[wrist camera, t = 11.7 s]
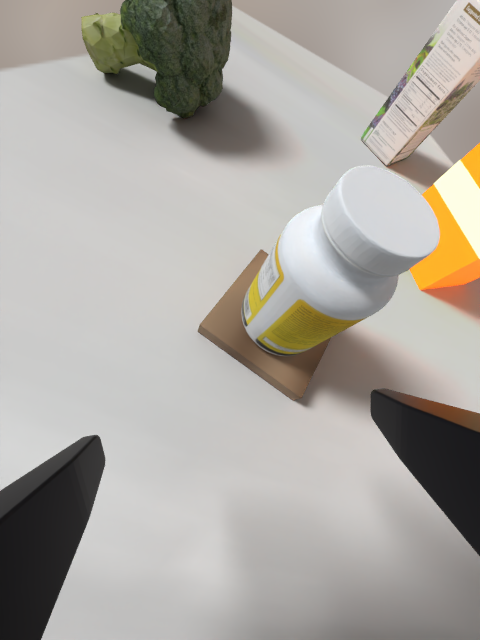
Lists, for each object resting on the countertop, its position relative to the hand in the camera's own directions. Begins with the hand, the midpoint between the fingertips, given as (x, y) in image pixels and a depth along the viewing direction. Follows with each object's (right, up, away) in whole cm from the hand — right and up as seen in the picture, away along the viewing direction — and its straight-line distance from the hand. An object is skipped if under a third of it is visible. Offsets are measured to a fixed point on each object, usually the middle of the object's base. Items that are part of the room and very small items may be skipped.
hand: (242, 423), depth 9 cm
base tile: (+3, +3, +14) cm, 14 cm away
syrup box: (+20, +28, +29) cm, 45 cm away
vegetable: (-9, +29, +21) cm, 37 cm away
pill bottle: (+3, +3, +12) cm, 13 cm away
